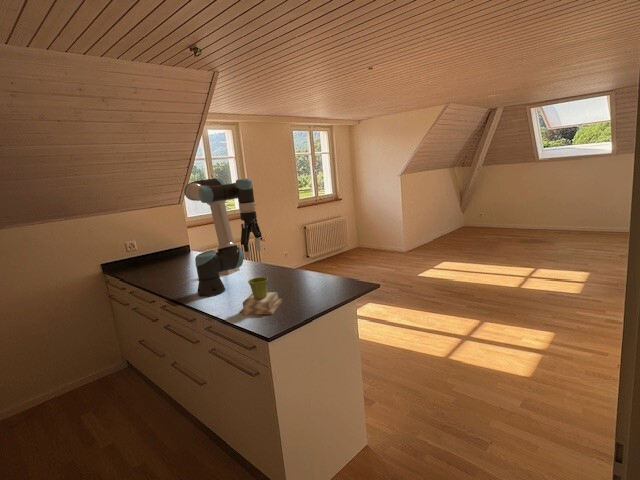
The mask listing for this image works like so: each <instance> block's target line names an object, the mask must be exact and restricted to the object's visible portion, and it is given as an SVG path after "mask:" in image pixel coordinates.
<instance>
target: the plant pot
mask: <svg viewBox="0 0 640 480" xmlns="http://www.w3.org/2000/svg"><path fill="white" fill-rule="evenodd" d="M268 280H269V278H268V277H265V276H260V277H255V278H251V279H248V281H247V283H248V284H249V286H250V289H251V291H252V292H251V293H253V296H254V298H256V299H262V298H264V297H266V296H267V292H268V287H267V285H268Z"/></svg>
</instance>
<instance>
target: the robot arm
mask: <svg viewBox="0 0 640 480" xmlns="http://www.w3.org/2000/svg"><path fill="white" fill-rule="evenodd" d="M253 185H254V184H253V180H252V179H251V178H240V179H235V182H232V183H227V182H226V181H225V180H224V179H223V178H221V177H219V178H217V177H216V178H206V179H199V180H198V179H197V180H193V181H191V182H189V183H188V184H186V186H185V187H184V189H183V191H184V195H185V197H186V199H188V200H190V201H194V202H196V201H197V202H199V201H200V202H201V203H202V204H207V205H208V206H209V207H210V208H209V209H210V213H211V216H212V220H213V225H214V230H215V233H216V237H217V241H218V247H217V250H214V249H213V250H207V251H204V252H201V253H199V254H197V255H196V256H195V257H194V260H195V261H194V262H195V268H196V274H197V278H198V285H197V291H196V292H197V296H198V295H199V297H201V296H208V297H213V296H212V295H214V296H217V295H220V294H222V293H224V292H225V291H226V288H225V287H226V286H225V284H224V282H223V281H222V279H221V277H220V274H219V272H223V271H227V270H231V269H235V268H238V267H239V268H240V267H242V266H243V265H244V264H243V263H244V258H245V259H251V258H252V252H251V246H250V244H249V243H250V235H251V233H252V234H253V236H254V237H255V238H254V239H253V240H254V244H255V251H257V252H258V251H259V252H261V251H262V243H261V238H262V231H261V230H260V229H261V228H260V226H259V224H258V219H257V217H258V216H257V211H256V205H257V204H256V203H255V194H254V186H253ZM235 199H237V200H238V208H239V212H240V213H239V215H240V220H241V221H243V222H244V223H240V225H241V226H240V227H241V229H240V230H241V232H240V245H241V246H243V249H242V248H241V247H239V246H238V244H237V243H235V241H234V237H233V234H232V233H233V232H232V229H231V224H230V221H229V215H228V211H227V207H226V201H229V200H235ZM243 251H244V253H243Z"/></svg>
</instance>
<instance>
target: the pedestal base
mask: <svg viewBox="0 0 640 480" xmlns="http://www.w3.org/2000/svg"><path fill="white" fill-rule="evenodd" d="M282 302H283V298H279V295H278V291H273V292H272V291H270V292H269V291H267V296H266V297H264V298H262V299H256V298H254V296H253V292H251V294H250V295H249V296H248V297H247V298H246V299H245V300H244V301H243V302H242V309H241V310H240V311H239V315H240V314H265V315H273V314H274V312H275V311H276V310H277V309H278V308H279V306H280V305H281V304H282Z"/></svg>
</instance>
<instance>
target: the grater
mask: <svg viewBox="0 0 640 480" xmlns="http://www.w3.org/2000/svg"><path fill="white" fill-rule="evenodd" d="M239 271H240V267H238V268H235V269H231V270H227V271H223V272H219V275H224V276H225V275H226V276H230V275H232V274H235V273H237V272H239Z"/></svg>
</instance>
